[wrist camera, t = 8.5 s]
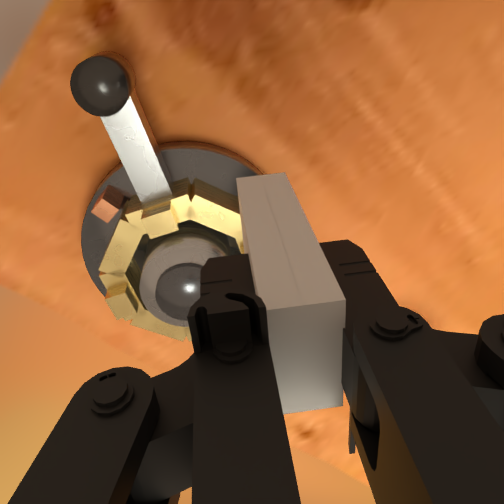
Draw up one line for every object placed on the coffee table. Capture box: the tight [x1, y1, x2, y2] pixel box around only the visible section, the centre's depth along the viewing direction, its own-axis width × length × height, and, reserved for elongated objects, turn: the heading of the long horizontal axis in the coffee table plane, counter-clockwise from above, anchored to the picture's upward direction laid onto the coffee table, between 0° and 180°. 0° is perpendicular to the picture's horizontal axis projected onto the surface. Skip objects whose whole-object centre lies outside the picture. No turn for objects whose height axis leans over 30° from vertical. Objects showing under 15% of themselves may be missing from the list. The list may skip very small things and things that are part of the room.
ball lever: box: [70, 51, 244, 341], centre depth 28 cm, size 19×11×4 cm, turn 17°
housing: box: [81, 141, 263, 327], centre depth 30 cm, size 15×15×8 cm
